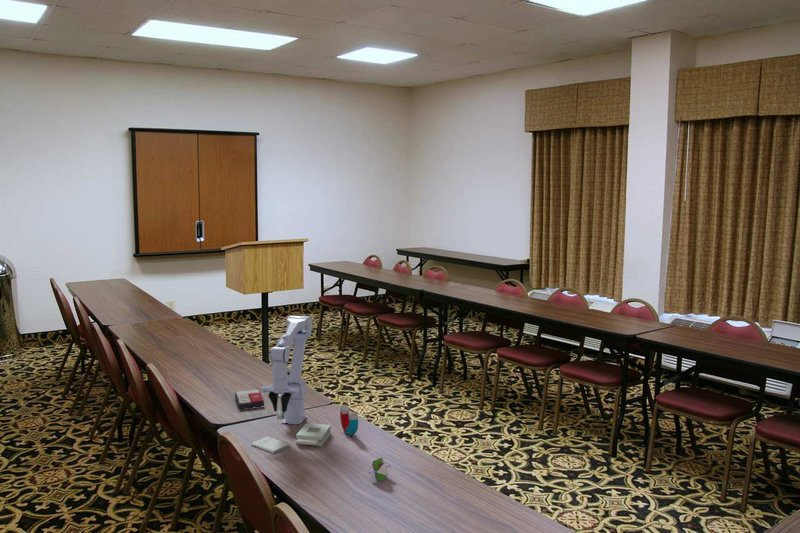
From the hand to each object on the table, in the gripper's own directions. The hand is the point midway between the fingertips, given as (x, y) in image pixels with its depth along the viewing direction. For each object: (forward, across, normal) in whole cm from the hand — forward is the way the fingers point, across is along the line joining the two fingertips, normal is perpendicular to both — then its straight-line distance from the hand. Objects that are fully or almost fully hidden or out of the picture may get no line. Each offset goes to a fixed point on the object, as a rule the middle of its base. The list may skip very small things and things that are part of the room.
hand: (280, 410), depth 244 cm
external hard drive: (+11, 0, -10) cm, 15 cm away
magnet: (+10, +26, +8) cm, 29 cm away
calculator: (+11, -28, +31) cm, 43 cm away
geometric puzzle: (+10, +46, -27) cm, 54 cm away
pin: (+3, 0, 0) cm, 3 cm away
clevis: (+10, +14, 0) cm, 17 cm away
